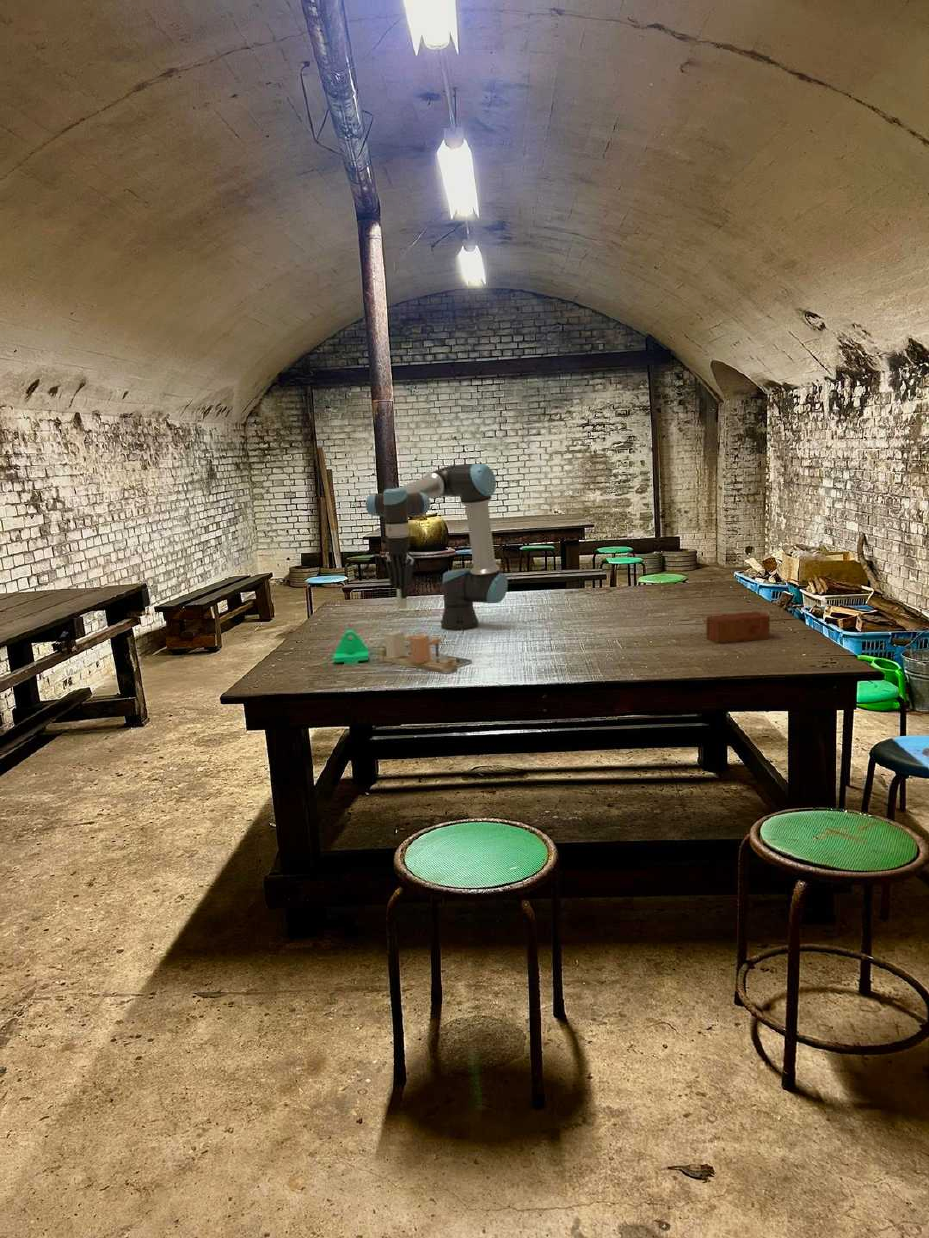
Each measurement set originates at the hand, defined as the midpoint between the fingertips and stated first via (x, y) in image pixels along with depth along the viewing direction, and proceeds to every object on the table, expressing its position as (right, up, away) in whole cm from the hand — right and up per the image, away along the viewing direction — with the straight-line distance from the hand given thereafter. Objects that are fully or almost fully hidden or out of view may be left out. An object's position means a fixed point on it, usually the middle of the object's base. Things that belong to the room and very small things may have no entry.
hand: (402, 607), depth 255 cm
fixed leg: (-1, -16, +9) cm, 19 cm away
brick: (+116, -11, +14) cm, 118 cm away
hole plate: (+10, -18, +6) cm, 21 cm away
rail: (+5, -19, +1) cm, 20 cm away
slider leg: (+8, -17, +1) cm, 19 cm away
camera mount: (-18, -19, +11) cm, 29 cm away
